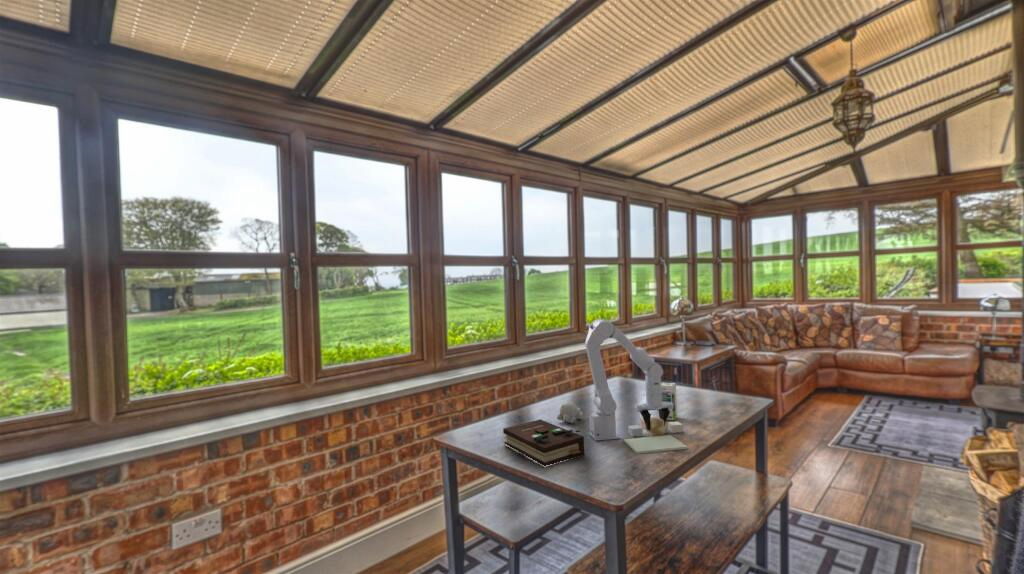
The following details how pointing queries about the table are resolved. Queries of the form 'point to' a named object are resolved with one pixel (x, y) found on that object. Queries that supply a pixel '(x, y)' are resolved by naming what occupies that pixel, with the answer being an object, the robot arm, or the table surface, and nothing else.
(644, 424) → the terracotta block
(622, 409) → the table surface
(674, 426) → the light grey block
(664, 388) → the syrup box
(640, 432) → the grey-blue block
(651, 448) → the sage board
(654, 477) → the table surface
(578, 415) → the toy rhinoceros
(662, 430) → the maple block
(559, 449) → the decorative book
